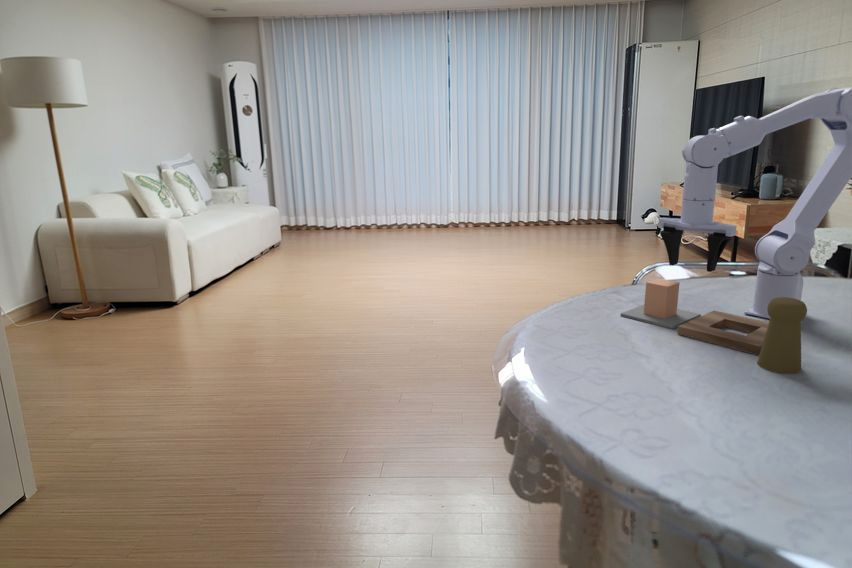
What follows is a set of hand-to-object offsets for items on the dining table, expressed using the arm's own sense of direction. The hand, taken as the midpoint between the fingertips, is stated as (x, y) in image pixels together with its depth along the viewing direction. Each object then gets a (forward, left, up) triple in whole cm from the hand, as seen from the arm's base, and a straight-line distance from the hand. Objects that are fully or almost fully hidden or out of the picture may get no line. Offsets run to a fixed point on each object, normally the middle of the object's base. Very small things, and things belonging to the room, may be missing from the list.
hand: (691, 267), depth 118 cm
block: (+6, -2, -9) cm, 11 cm away
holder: (+7, +12, -9) cm, 17 cm away
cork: (+16, +23, -10) cm, 30 cm away
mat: (+6, -2, -9) cm, 11 cm away
